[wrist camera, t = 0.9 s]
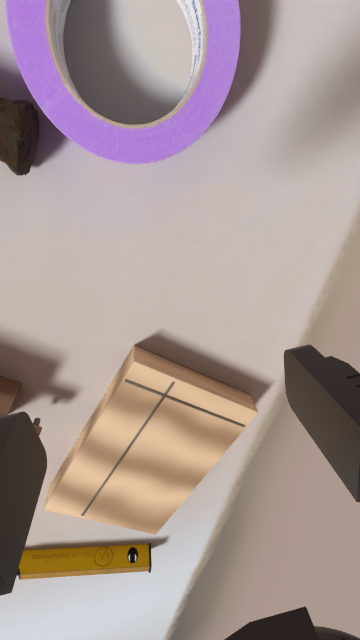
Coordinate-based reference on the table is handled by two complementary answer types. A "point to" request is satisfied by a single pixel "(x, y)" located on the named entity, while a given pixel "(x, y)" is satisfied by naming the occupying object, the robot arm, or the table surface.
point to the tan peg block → (12, 399)
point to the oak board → (148, 444)
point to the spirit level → (84, 561)
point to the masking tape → (100, 132)
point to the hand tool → (18, 134)
